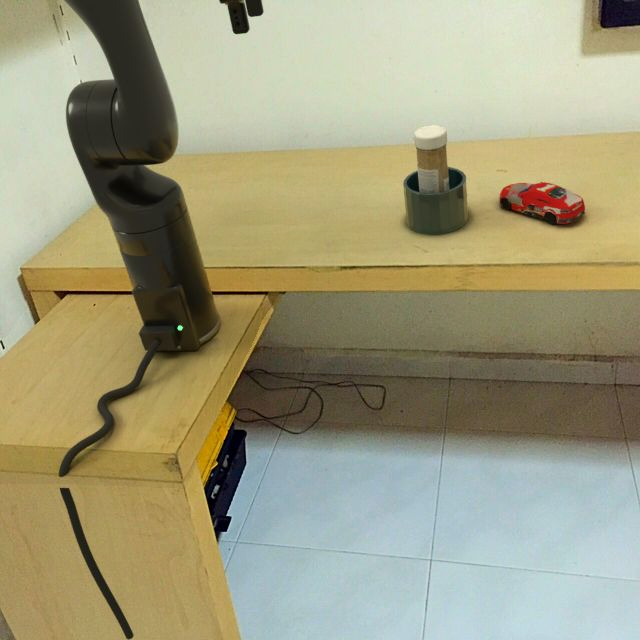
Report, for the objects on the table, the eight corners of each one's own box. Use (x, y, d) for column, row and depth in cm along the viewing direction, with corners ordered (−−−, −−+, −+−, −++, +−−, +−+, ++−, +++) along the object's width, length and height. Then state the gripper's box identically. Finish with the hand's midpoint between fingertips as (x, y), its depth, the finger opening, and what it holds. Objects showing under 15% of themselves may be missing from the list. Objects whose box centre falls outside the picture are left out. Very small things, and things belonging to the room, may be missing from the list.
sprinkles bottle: (457, 214, 111) (453, 128, 104) (434, 226, 110) (428, 139, 102) (437, 205, 115) (431, 121, 107) (414, 216, 113) (406, 132, 105)
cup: (467, 232, 108) (465, 192, 104) (405, 236, 110) (401, 196, 106) (467, 203, 115) (466, 164, 111) (409, 207, 117) (405, 168, 113)
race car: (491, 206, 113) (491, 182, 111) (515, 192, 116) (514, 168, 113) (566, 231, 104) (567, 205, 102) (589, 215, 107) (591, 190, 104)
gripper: (237, -105, 88) (264, 36, 97) (263, -121, 99) (285, 7, 108) (177, -96, 89) (209, 42, 99) (210, -113, 101) (236, 13, 110)
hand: (249, 24), depth 103 cm, fingers open, 8 cm apart
